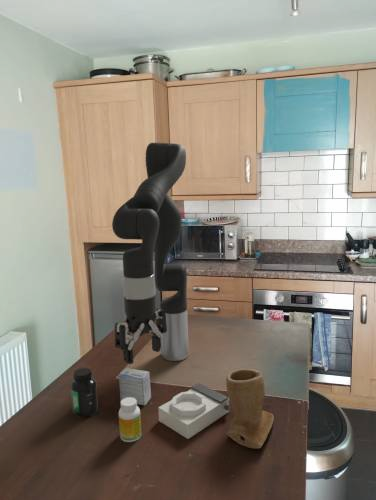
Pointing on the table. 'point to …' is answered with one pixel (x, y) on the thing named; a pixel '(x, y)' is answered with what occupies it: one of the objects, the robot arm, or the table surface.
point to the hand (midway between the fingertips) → (143, 356)
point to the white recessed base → (193, 410)
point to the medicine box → (135, 385)
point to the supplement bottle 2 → (129, 420)
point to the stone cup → (248, 408)
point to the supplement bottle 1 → (84, 393)
